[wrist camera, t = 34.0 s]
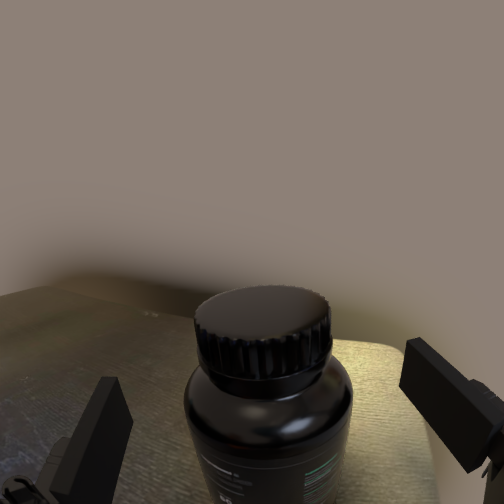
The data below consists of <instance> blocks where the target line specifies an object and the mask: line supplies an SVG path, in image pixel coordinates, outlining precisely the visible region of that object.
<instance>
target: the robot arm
mask: <svg viewBox="0 0 504 504" xmlns="http://www.w3.org/2000/svg"><path fill="white" fill-rule="evenodd" d="M399 387H400V389H401V390H402V391H403V392H404V394H405V395H406V396H407V397H408V399H409V400H410V401H411V402H412V404H413V405H414V406H415V407H416V409H417V410H418V411H419V412H420V414H421V415H422V416H423V417H424V419H425V420H426V421H427V422H428V423H429V425H430V426H431V427H432V429H433V430H434V431H435V432H436V434H437V435H438V436H439V438H440V439H441V440H442V441H443V442H444V444H445V445H446V447H447V448H448V449H449V450H450V452H451V453H452V454H453V456H454V457H455V458H456V459H457V461H458V462H459V463H460V465H461V466H462V467H463V469H464V470H465V471H466V472H467V474H468V473H470V472H472V471H474V470H475V469H477V468H479V467H480V466H482V464H483V462H484V461H485V459H486V457H487V456H488V457H489V458H490V460H491V461H490V463H489V464H488V466H487V468H486V469H485V471H484V472H483V474H482V478H483V477H484V476H485V475H486V473H487V472H488V474H487V482H486V489H485V495H484V502H483V504H504V402H503V401H502V400H501V399H500V398H499V397H498V396H497V397H496V394H494V393H493V392H492V391H490V389H489V388H488V387H486V386H485V385H484V384H483V383H481V382H479V381H476V380H474V379H472V380H470V381H469V380H467V378H465V377H464V376H463V375H462V374H461V373H460V372H459V371H458V370H457V369H455V368H454V367H453V366H452V365H451V364H450V363H449V362H447V361H446V360H445V359H444V358H443V357H442V356H441V355H440V354H439V353H437V352H436V351H435V350H434V349H433V348H432V347H431V346H429V345H428V344H427V343H426V342H425V341H424V340H422V339H421V338H420V337H418V338H415V339H411V340H407V343H406V349H405V355H404V361H403V367H402V372H401V378H400V383H399ZM132 426H133V419H132V417H131V414H130V412H129V409H128V406H127V404H126V401H125V398H124V395H123V393H122V390H121V387H120V384H119V381H118V378H117V377H101V379H100V381H99V383H98V385H97V387H96V389H95V391H94V392H93V394H92V396H91V398H90V400H89V402H88V404H87V406H86V408H85V410H84V412H83V414H82V417H81V419H80V421H79V423H78V425H77V427H76V429H75V431H74V433H73V435H72V437H71V438H67V437H62V438H61V439H60V440H59V441H57V442H56V443H55V444H54V446H53V448H52V450H51V452H50V456H48V458H47V460H46V463H45V464H44V466H43V468H42V470H41V472H40V475H39V477H38V479H37V481H36V483H35V485H34V484H33V482H32V481H31V480H30V479H29V478H27V477H25V476H21V475H17V476H13V477H11V478H9V479H7V480H6V481H5V483H4V484H3V487H2V495H3V496H4V497H5V498H6V499H0V504H112V500H113V496H114V492H115V488H116V484H117V480H118V476H119V472H120V469H121V465H122V461H123V457H124V454H125V450H126V447H127V443H128V439H129V436H130V432H131V429H132Z"/></svg>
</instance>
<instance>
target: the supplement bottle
mask: <svg viewBox="0 0 504 504" xmlns="http://www.w3.org/2000/svg"><path fill="white" fill-rule="evenodd" d="M194 326H195V332H196V338H197V344H198V345H197V354H198V360H199V364H200V365H199V366H198V367H197V368H196V369H195V370H194V372H193V373H192V375H191V377H190V378H189V380H188V383H187V386H186V388H185V393H184V410H185V415H186V419H187V423H188V426H189V430H190V433H191V437H192V440H193V443H194V447H195V450H196V453H197V456H198V460H199V463H200V466H201V469H202V472H203V475H204V478H205V481H206V484H207V487H208V490H209V492H210V495H211V498H212V501H213V503H214V504H334V502H335V499H336V495H337V492H338V487H339V483H340V478H341V473H342V468H343V462H344V457H345V451H346V445H347V439H348V433H349V427H350V420H351V413H352V405H353V388H352V383H351V380H350V377H349V375H348V373H347V371H346V370H345V368H344V367H343V365H342V364H341V363H340V362H339V361H338V360H337V359H336V358H335V357H334V356H333V355H332V347H333V339H332V335H331V308H330V306H329V302H328V301H327V300H325V297H323V296H321V295H320V294H319V293H316V292H313V291H312V290H309V289H305V288H302V287H295V286H285V285H258V286H249V287H245V288H238V289H235V290H230V291H227V292H224V293H220V294H218V295H216V296H214V297H211V298H210V299H209V300H207V301H204V302H203V304H202V305H200V306H199V307H198V310H196V312H195V317H194Z"/></svg>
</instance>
